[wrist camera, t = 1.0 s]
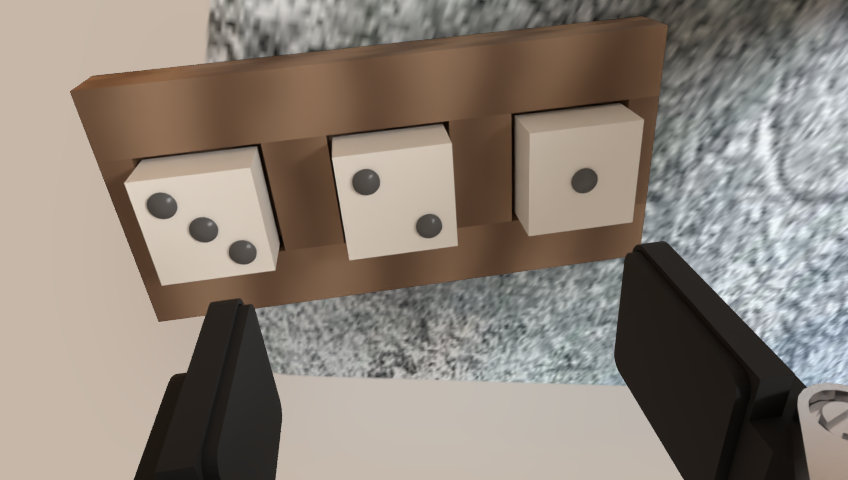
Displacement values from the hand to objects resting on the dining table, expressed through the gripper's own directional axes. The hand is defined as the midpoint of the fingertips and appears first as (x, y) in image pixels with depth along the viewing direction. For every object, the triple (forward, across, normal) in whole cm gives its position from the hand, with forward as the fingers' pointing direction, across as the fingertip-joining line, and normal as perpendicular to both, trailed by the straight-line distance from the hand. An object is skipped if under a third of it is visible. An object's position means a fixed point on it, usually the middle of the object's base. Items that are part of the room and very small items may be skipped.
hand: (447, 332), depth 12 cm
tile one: (+21, -10, +6) cm, 24 cm away
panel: (+24, 0, +6) cm, 25 cm away
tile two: (+21, 0, +6) cm, 22 cm away
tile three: (+21, +10, +6) cm, 24 cm away
